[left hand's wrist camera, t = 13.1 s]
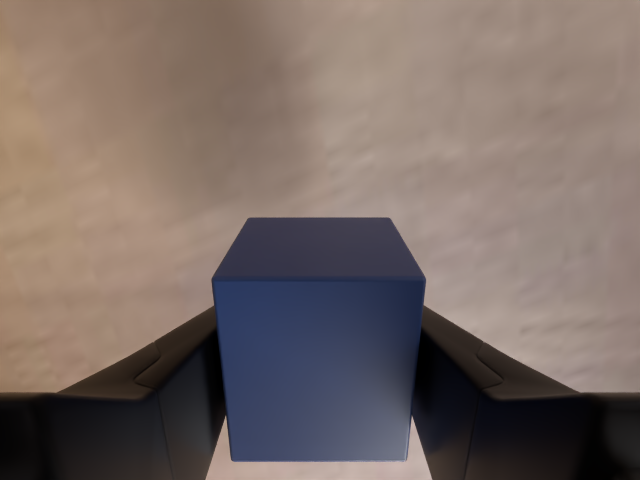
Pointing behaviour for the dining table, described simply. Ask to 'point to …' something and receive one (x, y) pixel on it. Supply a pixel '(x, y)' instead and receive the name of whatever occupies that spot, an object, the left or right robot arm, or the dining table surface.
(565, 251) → the dining table surface
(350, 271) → the block
